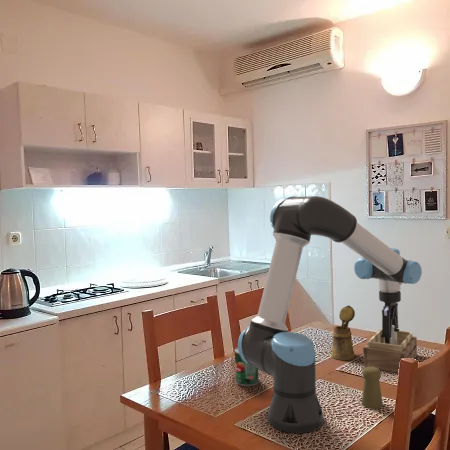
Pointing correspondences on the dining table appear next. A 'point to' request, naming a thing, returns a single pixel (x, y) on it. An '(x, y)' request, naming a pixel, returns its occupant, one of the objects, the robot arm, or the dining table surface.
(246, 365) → the canned tomato
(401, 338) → the pine crate
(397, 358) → the wooden drawer box
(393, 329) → the flask
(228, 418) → the dining table surface
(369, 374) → the cork
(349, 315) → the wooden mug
